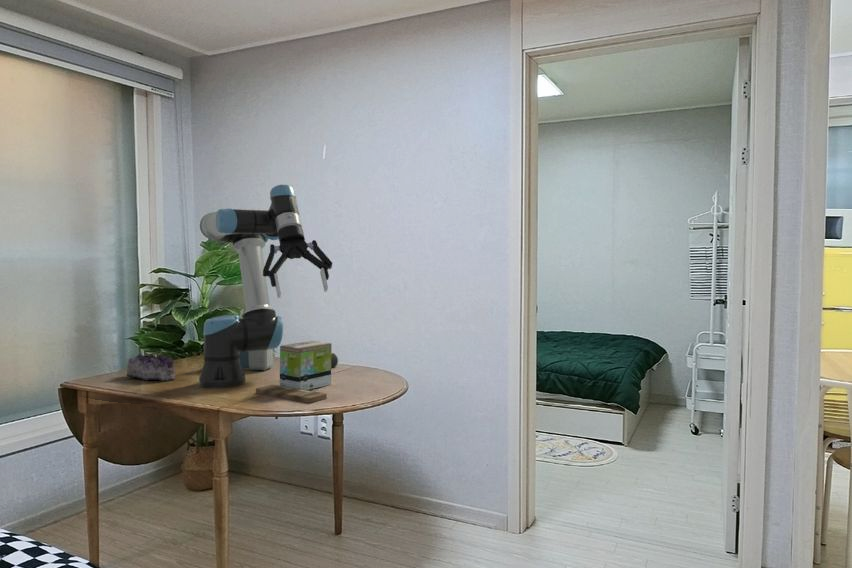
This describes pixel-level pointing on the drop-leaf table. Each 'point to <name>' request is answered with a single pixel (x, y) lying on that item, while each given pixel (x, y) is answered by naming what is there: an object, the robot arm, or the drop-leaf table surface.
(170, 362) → the geode
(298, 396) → the walnut plank
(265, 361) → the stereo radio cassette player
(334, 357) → the flashlight
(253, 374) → the drop-leaf table surface
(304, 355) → the tea box
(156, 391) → the drop-leaf table surface
